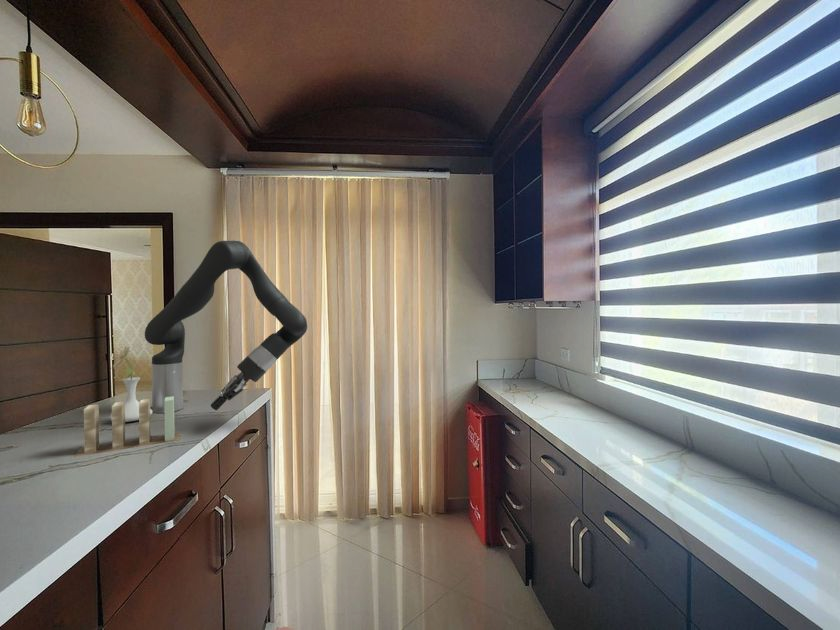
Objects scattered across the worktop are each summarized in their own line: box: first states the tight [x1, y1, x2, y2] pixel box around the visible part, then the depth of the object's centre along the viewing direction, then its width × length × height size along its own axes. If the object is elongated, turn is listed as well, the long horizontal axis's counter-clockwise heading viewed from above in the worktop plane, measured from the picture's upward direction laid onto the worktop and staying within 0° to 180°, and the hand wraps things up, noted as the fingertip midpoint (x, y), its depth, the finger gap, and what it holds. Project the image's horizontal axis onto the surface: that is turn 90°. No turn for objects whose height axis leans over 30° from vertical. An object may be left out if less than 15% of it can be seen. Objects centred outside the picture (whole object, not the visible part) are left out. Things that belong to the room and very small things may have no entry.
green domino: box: [164, 396, 175, 441], centre depth 104 cm, size 2×5×11 cm, turn 32°
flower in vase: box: [109, 345, 154, 423], centre depth 123 cm, size 13×11×25 cm
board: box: [73, 432, 182, 458], centre depth 100 cm, size 22×7×1 cm, turn 122°
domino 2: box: [138, 398, 152, 445], centre depth 101 cm, size 2×5×11 cm, turn 32°
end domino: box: [83, 403, 100, 454], centre depth 95 cm, size 2×5×11 cm, turn 31°
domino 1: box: [111, 401, 126, 449], centre depth 98 cm, size 2×5×11 cm, turn 32°
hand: (213, 407), depth 109 cm, fingers closed
